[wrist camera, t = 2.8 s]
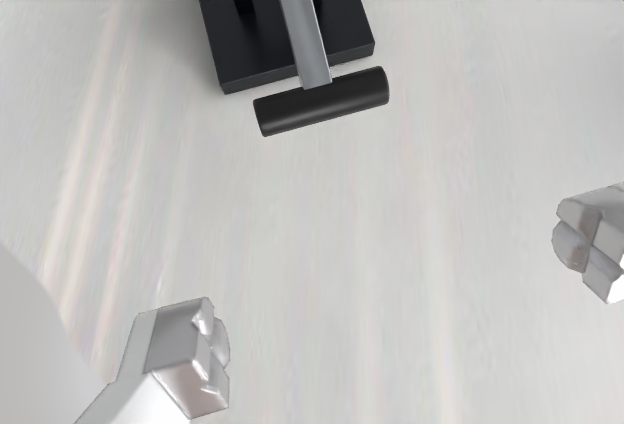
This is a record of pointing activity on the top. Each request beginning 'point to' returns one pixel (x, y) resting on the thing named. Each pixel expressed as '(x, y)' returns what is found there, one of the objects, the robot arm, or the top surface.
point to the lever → (316, 80)
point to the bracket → (277, 39)
